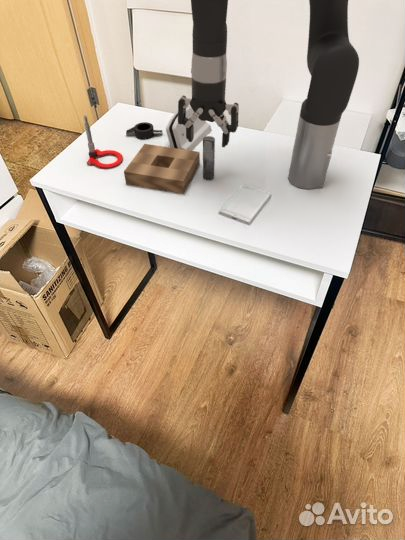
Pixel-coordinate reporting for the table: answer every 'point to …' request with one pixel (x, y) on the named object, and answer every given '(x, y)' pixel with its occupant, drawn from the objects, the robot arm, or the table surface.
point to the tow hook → (100, 152)
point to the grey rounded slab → (179, 131)
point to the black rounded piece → (143, 131)
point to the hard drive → (245, 204)
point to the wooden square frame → (162, 168)
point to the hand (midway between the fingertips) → (207, 143)
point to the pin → (208, 157)
